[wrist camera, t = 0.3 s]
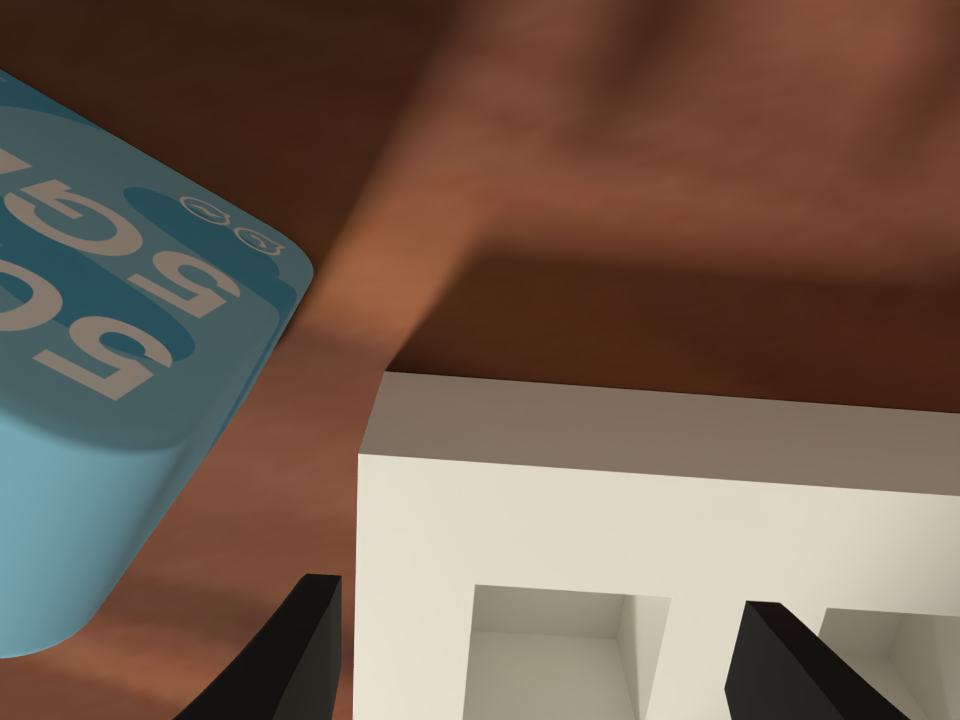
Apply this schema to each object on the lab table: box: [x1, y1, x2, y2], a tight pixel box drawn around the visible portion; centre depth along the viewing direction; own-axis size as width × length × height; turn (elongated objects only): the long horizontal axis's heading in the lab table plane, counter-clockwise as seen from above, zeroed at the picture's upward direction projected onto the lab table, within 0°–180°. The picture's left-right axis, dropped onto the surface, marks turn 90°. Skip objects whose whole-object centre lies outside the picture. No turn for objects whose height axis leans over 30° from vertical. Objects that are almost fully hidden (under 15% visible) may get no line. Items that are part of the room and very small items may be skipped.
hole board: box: [353, 371, 960, 720], centre depth 22 cm, size 12×20×5 cm, turn 86°
